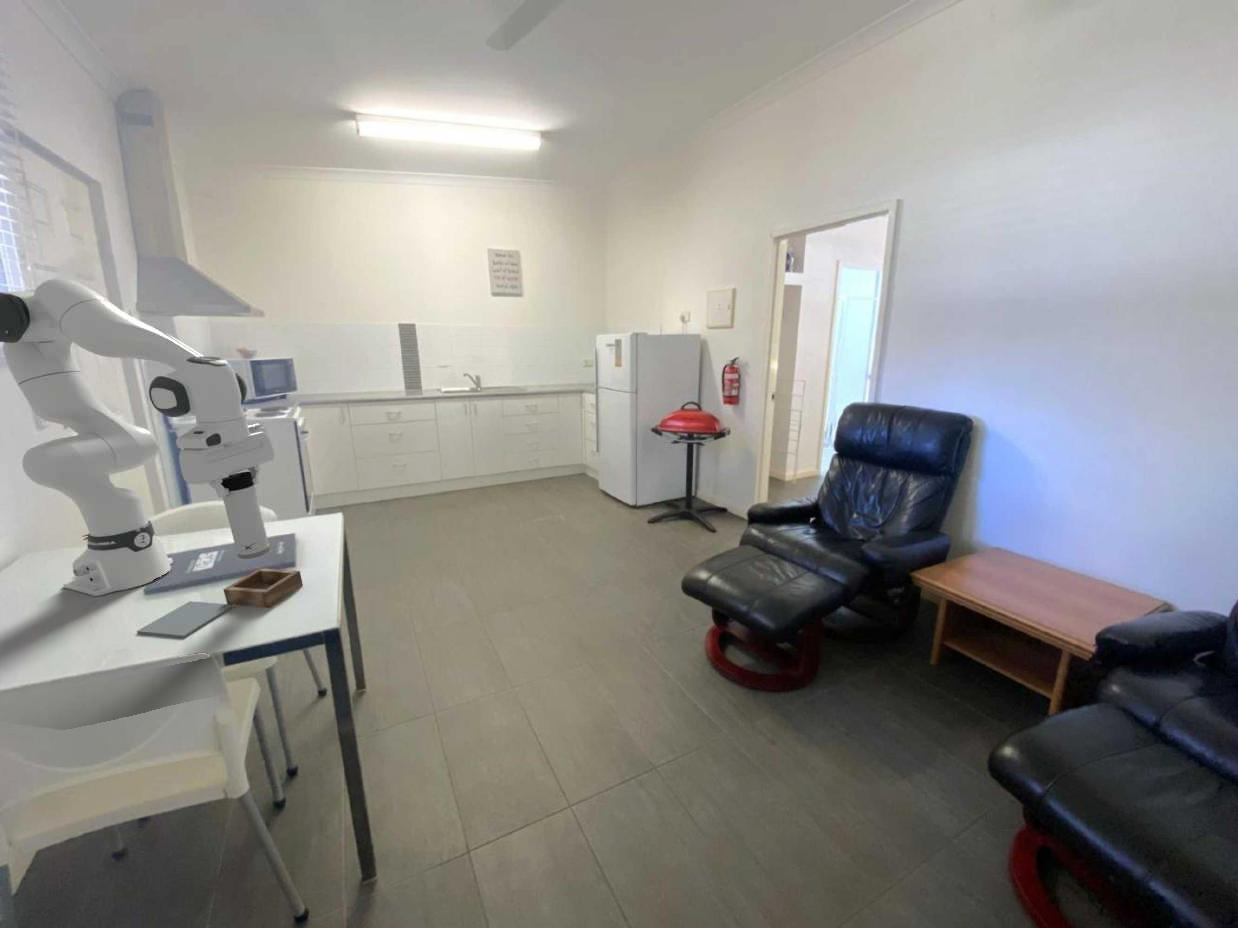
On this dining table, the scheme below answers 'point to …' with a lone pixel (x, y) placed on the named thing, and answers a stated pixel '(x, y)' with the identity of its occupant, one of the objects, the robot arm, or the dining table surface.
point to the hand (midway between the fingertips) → (239, 490)
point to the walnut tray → (250, 595)
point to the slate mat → (185, 619)
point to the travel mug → (245, 516)
